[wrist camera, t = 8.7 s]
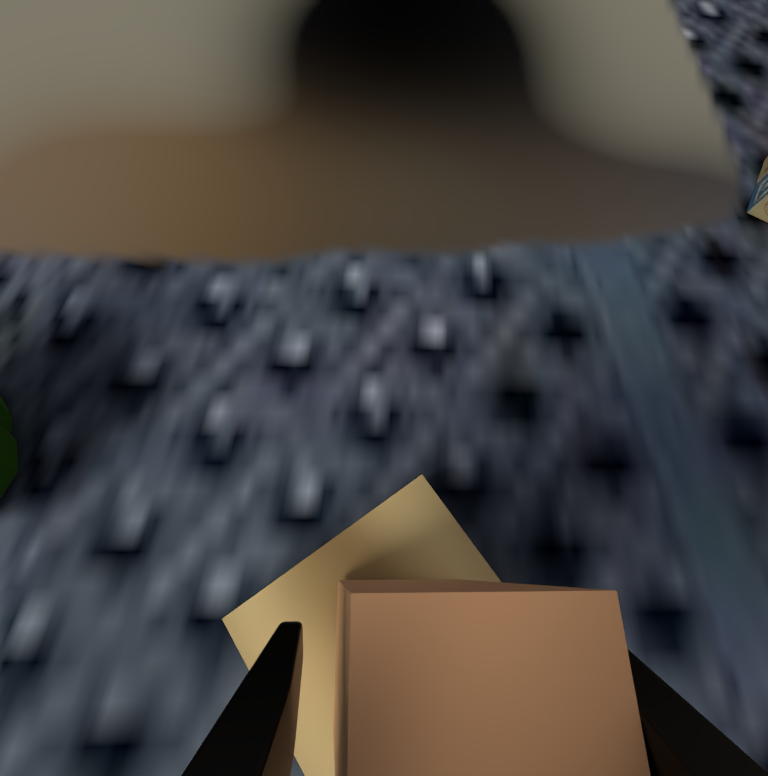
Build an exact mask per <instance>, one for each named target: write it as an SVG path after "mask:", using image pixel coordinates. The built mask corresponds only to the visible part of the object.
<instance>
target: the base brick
mask: <svg viewBox="0 0 768 776" xmlns="http://www.w3.org/2000/svg"><path fill="white" fill-rule="evenodd" d="M421 579H462V580H476V581H490V582H501V581H500V579H499V578H498V577H497V575H496V574H495V573H494V571H493V570H492V569H491V567H490V566H489V565H488V563H487V562H486V561H485V559H484V558H483V556H482V555H481V554H480V552H479V551H478V550H477V548H476V547H475V546H474V544H473V543H472V542H471V540H470V539H469V537H468V536H467V535H466V533H465V532H464V531H463V529H462V528H461V527H460V525H459V524H458V523H457V521H456V520H455V518H454V517H453V516H452V514H451V513H450V512H449V510H448V509H447V508H446V506H445V505H444V504H443V502H442V501H441V499H440V498H439V497H438V495H437V494H436V493H435V491H434V490H433V489H432V487H431V486H430V485H429V483H428V482H427V481H426V479H425V478H424V476H423V475H420V476H419V477H418V478H416V479H415V480H413V481H412V482H411V483H409V484H408V485H406V486H405V487H404V488H402V489H401V490H400V491H398V492H397V493H395V494H394V495H393V496H391V497H390V498H389V499H387V500H386V501H384V502H383V503H382V504H380V505H379V506H377V507H376V508H375V509H373V510H372V511H371V512H369V513H368V514H366V515H365V516H364V517H362V518H361V519H360V520H358V521H357V522H355V523H354V524H353V525H351V526H350V527H348V528H347V529H346V530H344V531H343V532H342V533H340V534H339V535H337V536H336V537H335V538H333V539H332V540H331V541H329V542H328V543H326V544H325V545H324V546H322V547H321V548H319V549H318V550H317V551H315V552H314V553H313V554H311V555H310V556H308V557H307V558H306V559H304V560H303V561H301V562H300V563H299V564H297V565H296V566H295V567H293V568H292V569H290V570H289V571H288V572H286V573H285V574H284V575H282V576H281V577H279V578H278V579H277V580H275V581H274V582H272V583H271V584H270V585H268V586H267V587H266V588H264V589H263V590H261V591H260V592H259V593H257V594H256V595H255V596H253V597H252V598H250V599H249V600H248V601H246V602H245V603H243V604H242V605H241V606H239V607H238V608H237V609H235V610H234V611H232V612H231V613H230V614H228V615H227V616H225V617H224V618H223V619H222V620H223V622H224V624H225V626H226V627H227V629H228V631H229V633H230V635H231V637H232V639H233V641H234V643H235V644H236V646H237V648H238V650H239V652H240V654H241V656H242V658H243V660H244V661H245V663H246V665H247V667H248V669H249V670H250V669H251V667H252V666H253V664H254V663H255V661H256V660H257V658H258V657H259V655H260V653H261V652H262V650H263V649H264V647H265V646H266V644H267V643H268V641H269V640H270V638H271V636H272V635H273V633H274V632H275V630H276V629H277V627H278V626H279V624H280V623H282V622H285V621H299V622H301V623H302V627H303V665H302V676H301V687H300V698H299V708H298V719H297V730H296V740H295V748H294V756H295V758H296V759H297V761H298V763H299V765H300V767H301V769H302V771H303V773H304V775H305V776H335V769H334V739H333V720H334V689H335V657H336V626H337V595H338V580H421Z"/></svg>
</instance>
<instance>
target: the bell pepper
mask: <svg viewBox="0 0 768 776" xmlns="http://www.w3.org/2000/svg"><path fill="white" fill-rule="evenodd" d="M12 429H13V421H12V415H11V413H10V412H9V410H8V408H7V406H6V404H5V403H4V401H3V399H2V397H1V395H0V499H1V497H2V496H3V494H4V493H5V491H6V490H7V488H8V487H9V485H10V484H11V482H12V481H13V479H14V478H15V476H16V475H17V473H18V472H19V466H18V447H17V440H16V439H15V438H14V437H13V436H12V435H11V431H12Z"/></svg>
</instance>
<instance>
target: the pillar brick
mask: <svg viewBox="0 0 768 776" xmlns="http://www.w3.org/2000/svg"><path fill="white" fill-rule="evenodd" d="M333 739H334V769H335V776H651V775H650V770H649V764H648V759H647V753H646V748H645V742H644V737H643V732H642V726H641V721H640V715H639V710H638V704H637V699H636V693H635V688H634V682H633V677H632V671H631V666H630V661H629V655H628V650H627V644H626V639H625V633H624V628H623V622H622V617H621V611H620V606H619V601H618V595H617V591H615V590H601V589H588V588H574V587H560V586H546V585H532V584H518V583H504V582H490V581H476V580H462V579H421V580H338V595H337V626H336V657H335V689H334V720H333Z"/></svg>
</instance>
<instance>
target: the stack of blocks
mask: <svg viewBox="0 0 768 776" xmlns="http://www.w3.org/2000/svg"><path fill="white" fill-rule="evenodd" d="M747 213H748V214H750V215H752V216H754V217H757V218H759V219H761V220H763V221H765V222H767V223H768V157H767V158H766V159H765V161H764V163H763V166H762V169H761V172H760V174H759V177H758V180H757V183H756V187H755V189H754V192H753V194H752V197H751V201H750V203H749V206H748V209H747Z"/></svg>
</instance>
